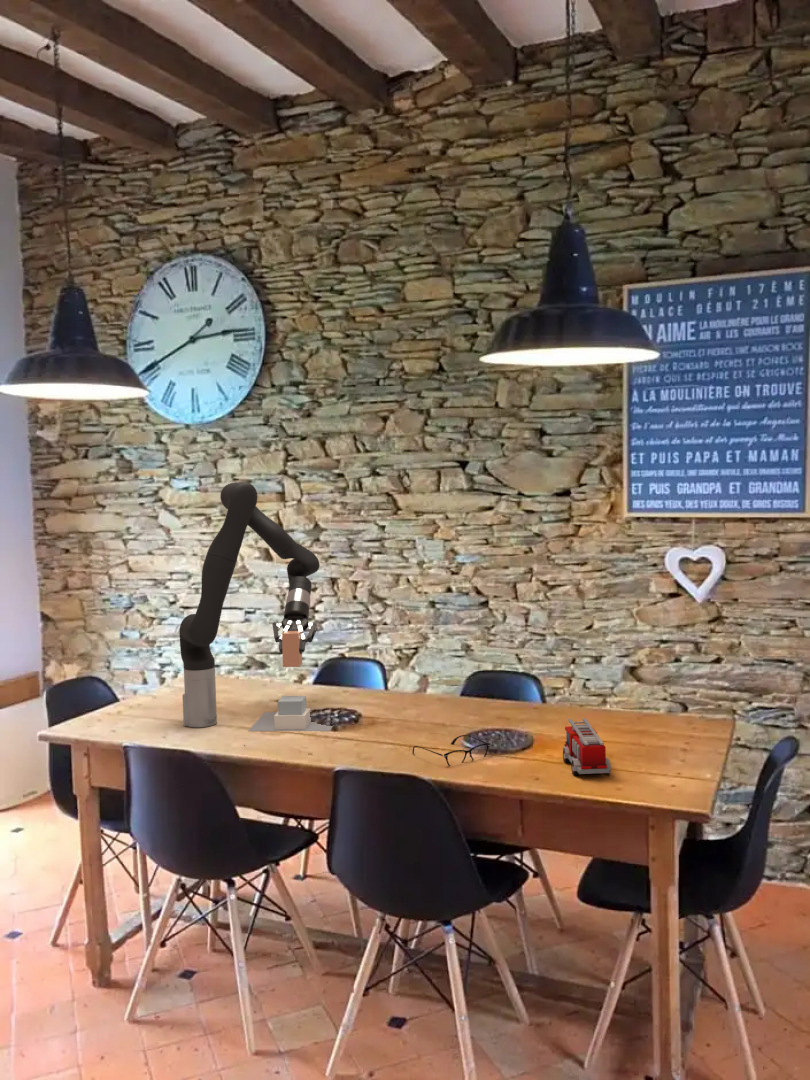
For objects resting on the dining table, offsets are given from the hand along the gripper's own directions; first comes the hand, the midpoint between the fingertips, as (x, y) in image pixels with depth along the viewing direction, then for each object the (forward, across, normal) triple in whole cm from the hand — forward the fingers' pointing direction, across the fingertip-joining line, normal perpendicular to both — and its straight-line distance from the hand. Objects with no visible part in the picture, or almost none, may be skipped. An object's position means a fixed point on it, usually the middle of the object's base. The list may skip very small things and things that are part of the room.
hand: (291, 652), depth 277 cm
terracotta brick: (+2, 0, +4) cm, 5 cm away
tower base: (+18, +1, +12) cm, 21 cm away
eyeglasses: (+38, +47, -6) cm, 61 cm away
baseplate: (+15, +1, +16) cm, 22 cm away
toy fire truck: (+46, +81, -15) cm, 94 cm away
